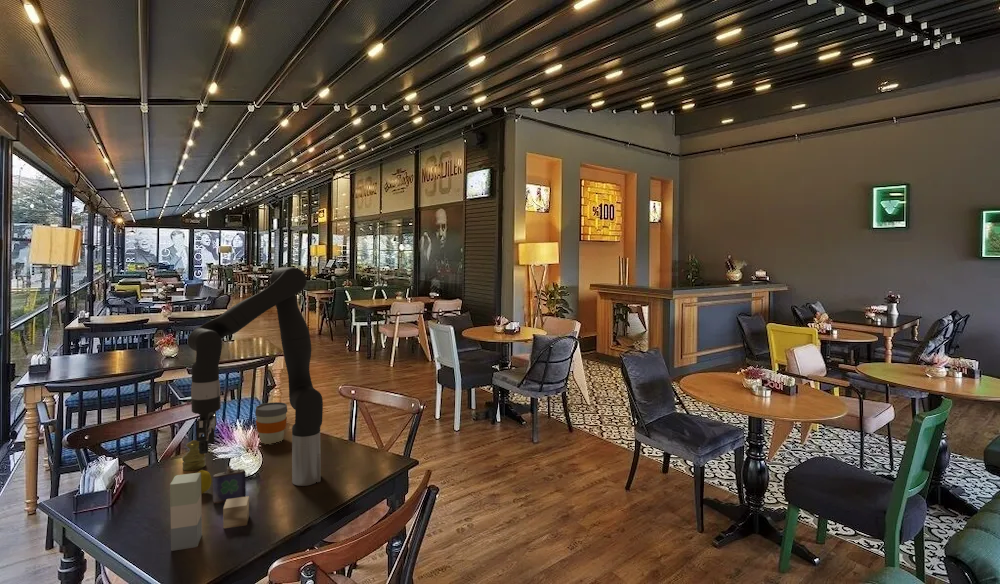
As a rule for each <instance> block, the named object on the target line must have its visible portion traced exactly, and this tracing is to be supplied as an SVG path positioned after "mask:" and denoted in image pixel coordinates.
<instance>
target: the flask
mask: <svg viewBox="0 0 1000 584" xmlns="http://www.w3.org/2000/svg"><path fill="white" fill-rule="evenodd" d="M246 493H247V492H246V471H245V469H242V468H241V469H240V468H237V469H234V468H232V465H229V466H226V471H223V472H218V473H216V474H213V476H212V502H213V504H222V503H225V502H226V499H232V498H239V497H246V496H247V495H246Z"/></svg>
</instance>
